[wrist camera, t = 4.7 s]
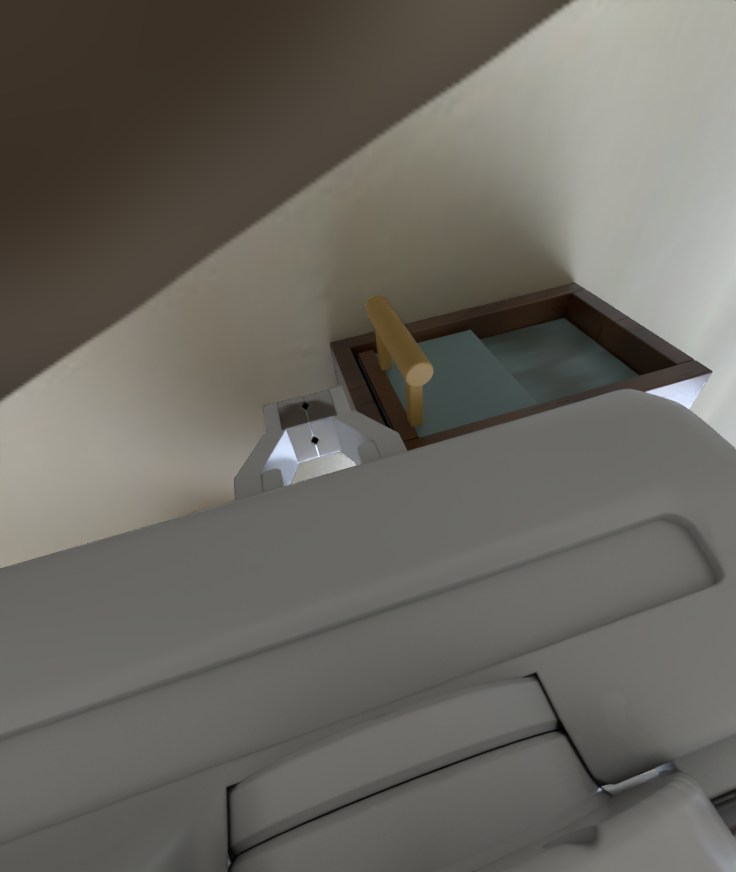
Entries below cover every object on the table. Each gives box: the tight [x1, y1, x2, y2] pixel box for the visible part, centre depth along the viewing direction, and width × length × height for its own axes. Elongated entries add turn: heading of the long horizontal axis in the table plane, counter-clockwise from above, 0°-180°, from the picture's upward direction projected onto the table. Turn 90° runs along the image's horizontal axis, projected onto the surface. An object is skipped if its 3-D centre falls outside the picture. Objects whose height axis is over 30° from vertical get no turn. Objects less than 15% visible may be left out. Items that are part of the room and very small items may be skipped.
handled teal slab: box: [358, 295, 538, 442], centre depth 19 cm, size 7×4×7 cm, turn 96°
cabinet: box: [330, 283, 712, 466], centre depth 24 cm, size 16×10×10 cm, turn 96°
